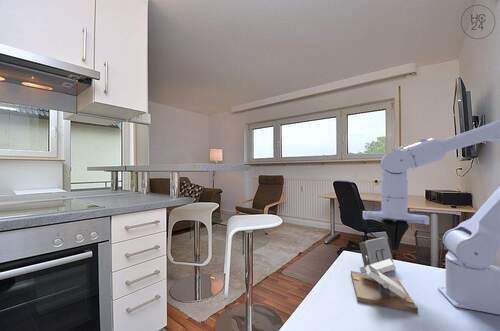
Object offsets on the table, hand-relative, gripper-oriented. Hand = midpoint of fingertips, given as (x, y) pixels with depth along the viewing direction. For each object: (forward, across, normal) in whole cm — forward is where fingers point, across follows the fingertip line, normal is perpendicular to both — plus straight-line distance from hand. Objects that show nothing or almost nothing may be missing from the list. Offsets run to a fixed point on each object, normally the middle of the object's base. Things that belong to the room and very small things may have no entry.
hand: (393, 248), depth 56 cm
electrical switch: (+10, +2, -9) cm, 13 cm away
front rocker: (+5, +4, +8) cm, 10 cm away
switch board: (+9, +4, +4) cm, 11 cm away
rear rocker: (+5, +4, +2) cm, 7 cm away
